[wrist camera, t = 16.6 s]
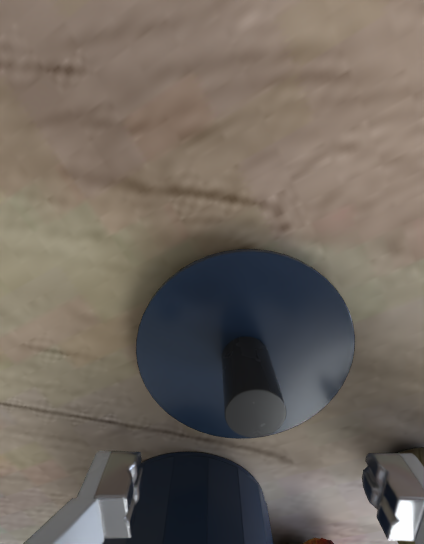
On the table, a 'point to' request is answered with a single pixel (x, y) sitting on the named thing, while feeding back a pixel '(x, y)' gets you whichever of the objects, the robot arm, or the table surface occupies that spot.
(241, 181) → the table surface
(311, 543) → the croissant
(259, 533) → the pot
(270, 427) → the lid
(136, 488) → the robot arm
